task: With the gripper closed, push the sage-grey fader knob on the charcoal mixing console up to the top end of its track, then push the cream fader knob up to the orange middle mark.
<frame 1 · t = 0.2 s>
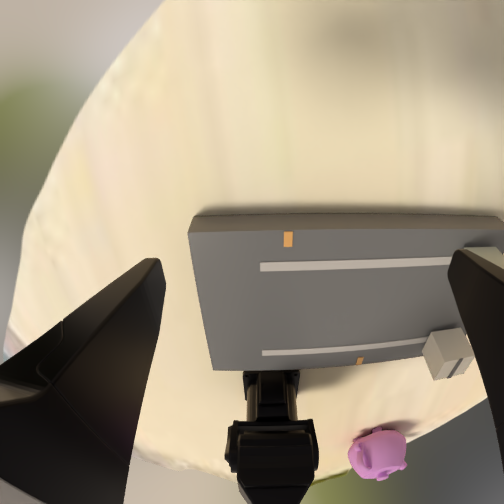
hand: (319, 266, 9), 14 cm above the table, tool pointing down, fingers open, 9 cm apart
console: (358, 291, 28), on the table
sage fader: (486, 275, 21), point 5 cm above the table, slide at 0.0 cm
cream fader: (448, 353, 26), point 5 cm above the table, slide at 0.0 cm
teapot: (377, 435, 48), on the table
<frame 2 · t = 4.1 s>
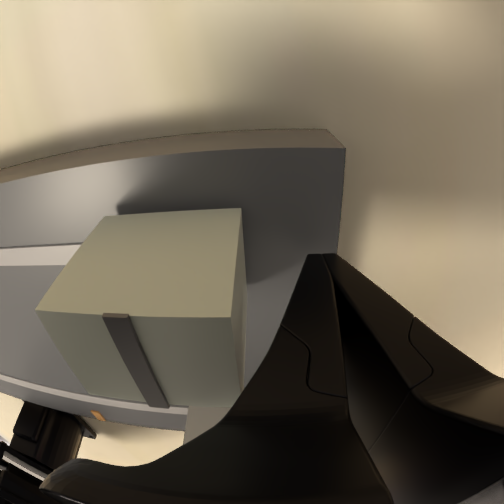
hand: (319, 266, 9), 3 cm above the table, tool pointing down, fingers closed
console: (50, 306, 15), on the table
sage fader: (160, 304, 8), point 5 cm above the table, slide at 0.8 cm, touching gripper
cream fader: (231, 452, 13), point 5 cm above the table, slide at 0.0 cm
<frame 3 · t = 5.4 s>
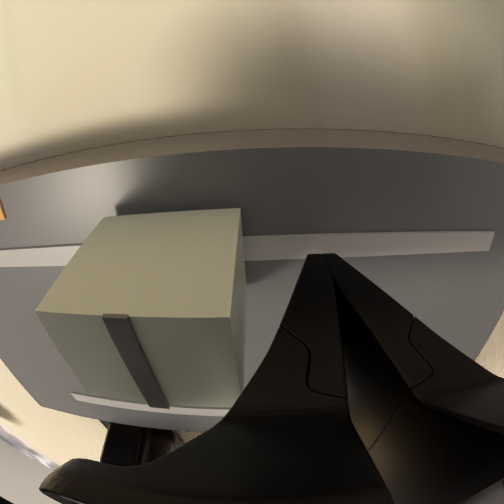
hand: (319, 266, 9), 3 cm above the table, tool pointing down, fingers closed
console: (209, 312, 14), on the table
sage fader: (160, 304, 8), point 5 cm above the table, slide at 10.0 cm, touching gripper
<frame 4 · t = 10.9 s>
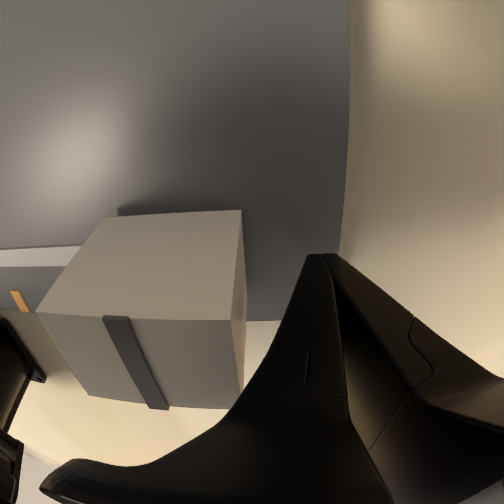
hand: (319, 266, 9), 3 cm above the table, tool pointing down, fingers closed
cream fader: (160, 306, 8), point 5 cm above the table, slide at 0.8 cm, touching gripper
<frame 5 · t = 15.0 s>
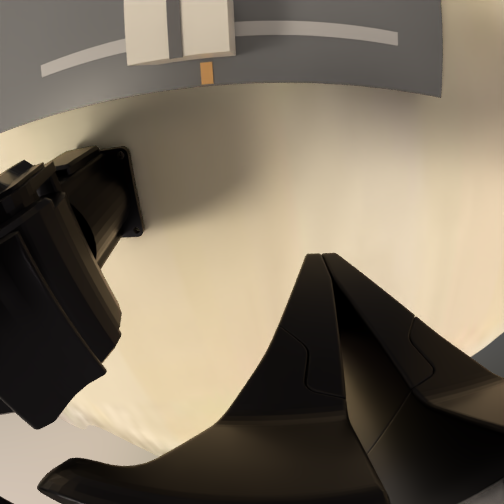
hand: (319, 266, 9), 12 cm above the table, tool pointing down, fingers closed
cream fader: (185, 27, 11), point 5 cm above the table, slide at 9.5 cm
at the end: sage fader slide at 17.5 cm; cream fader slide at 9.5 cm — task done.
